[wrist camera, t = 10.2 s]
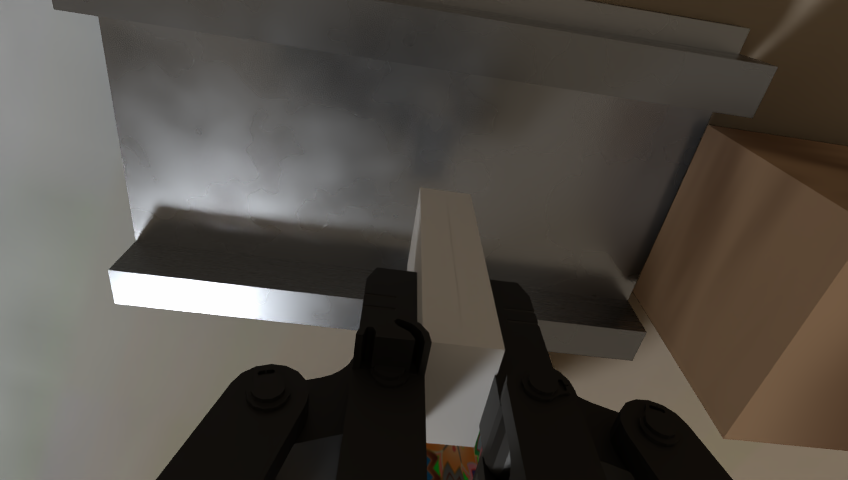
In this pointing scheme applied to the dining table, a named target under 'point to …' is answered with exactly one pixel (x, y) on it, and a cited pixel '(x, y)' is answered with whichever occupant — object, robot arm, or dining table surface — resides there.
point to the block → (758, 286)
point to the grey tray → (407, 147)
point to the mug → (452, 461)
